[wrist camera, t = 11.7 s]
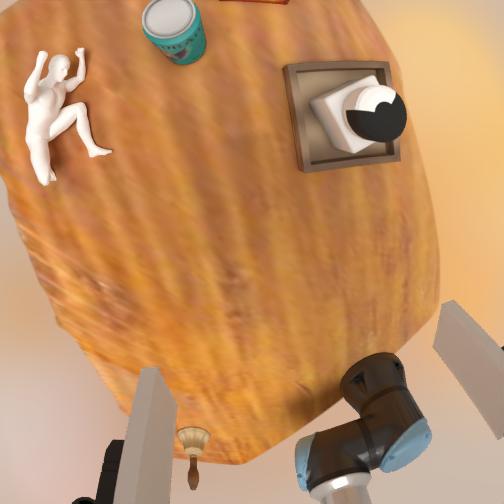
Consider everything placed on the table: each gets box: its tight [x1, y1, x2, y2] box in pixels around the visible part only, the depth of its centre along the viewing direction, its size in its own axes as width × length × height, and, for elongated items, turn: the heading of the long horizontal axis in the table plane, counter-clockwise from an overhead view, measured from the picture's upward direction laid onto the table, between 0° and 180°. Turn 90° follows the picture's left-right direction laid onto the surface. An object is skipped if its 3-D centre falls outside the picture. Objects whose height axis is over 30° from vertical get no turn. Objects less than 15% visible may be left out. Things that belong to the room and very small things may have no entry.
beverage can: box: [142, 0, 206, 65], centre depth 29 cm, size 6×6×15 cm
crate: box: [283, 61, 401, 173], centre depth 39 cm, size 15×15×4 cm
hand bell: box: [177, 427, 210, 490], centre depth 60 cm, size 8×8×16 cm
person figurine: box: [24, 48, 112, 186], centre depth 33 cm, size 13×13×18 cm
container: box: [309, 75, 407, 153], centre depth 34 cm, size 8×8×13 cm
